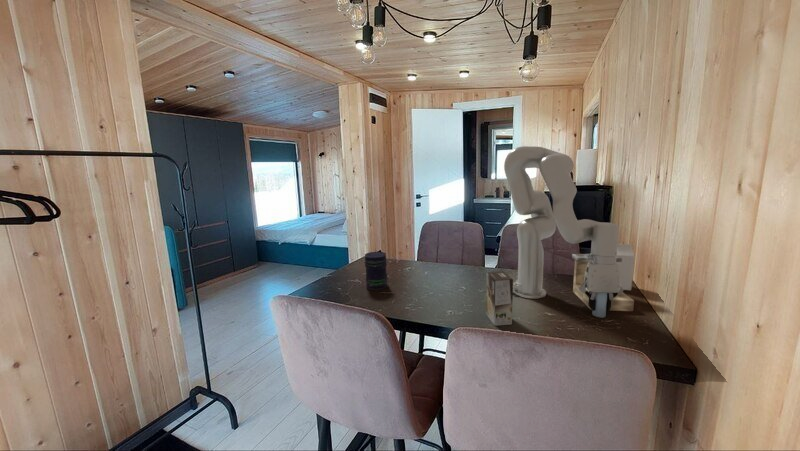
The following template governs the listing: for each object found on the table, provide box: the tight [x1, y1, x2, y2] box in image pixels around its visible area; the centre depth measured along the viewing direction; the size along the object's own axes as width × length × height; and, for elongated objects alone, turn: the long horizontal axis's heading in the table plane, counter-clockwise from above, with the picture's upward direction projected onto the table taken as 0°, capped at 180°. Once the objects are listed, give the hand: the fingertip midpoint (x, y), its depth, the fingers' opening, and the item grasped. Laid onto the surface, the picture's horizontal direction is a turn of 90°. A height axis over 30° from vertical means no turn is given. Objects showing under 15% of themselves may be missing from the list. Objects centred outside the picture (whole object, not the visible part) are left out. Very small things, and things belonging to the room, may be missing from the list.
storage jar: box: [364, 251, 388, 291], centre depth 151 cm, size 10×10×15 cm
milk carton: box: [616, 243, 635, 291], centre depth 139 cm, size 7×7×19 cm
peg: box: [591, 293, 607, 319], centre depth 115 cm, size 4×4×10 cm
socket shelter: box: [571, 253, 635, 312], centre depth 127 cm, size 16×18×16 cm
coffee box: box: [485, 270, 514, 327], centre depth 114 cm, size 9×6×16 cm
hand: (599, 308), depth 116 cm, fingers closed on peg, 4 cm apart
